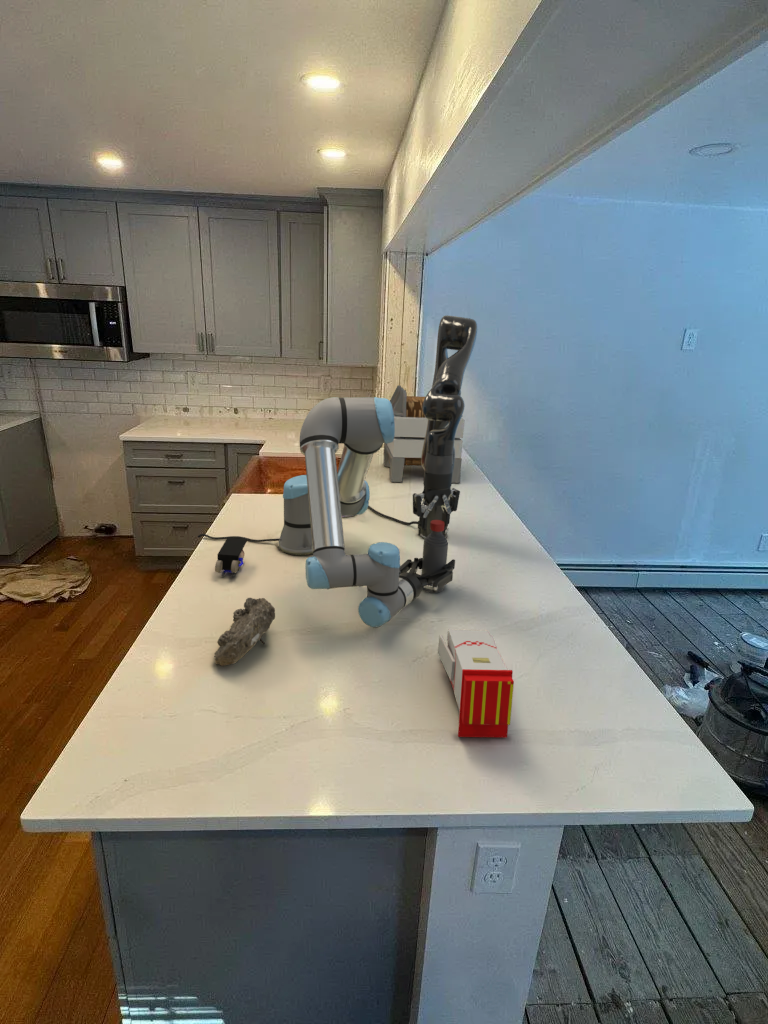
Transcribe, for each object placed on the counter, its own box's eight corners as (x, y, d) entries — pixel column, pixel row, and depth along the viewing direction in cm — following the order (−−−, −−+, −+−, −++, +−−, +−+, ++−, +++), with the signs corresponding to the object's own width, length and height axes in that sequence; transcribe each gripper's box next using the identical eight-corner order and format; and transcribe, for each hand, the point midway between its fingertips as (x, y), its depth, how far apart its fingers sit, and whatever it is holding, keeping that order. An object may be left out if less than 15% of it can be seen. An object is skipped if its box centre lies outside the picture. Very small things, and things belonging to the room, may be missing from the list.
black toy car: (238, 584, 162) (249, 557, 175) (236, 562, 158) (247, 536, 172) (215, 584, 161) (227, 556, 175) (212, 561, 158) (225, 535, 171)
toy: (488, 613, 130) (523, 677, 101) (484, 667, 133) (517, 744, 104) (435, 612, 130) (455, 676, 101) (432, 666, 133) (451, 743, 103)
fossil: (230, 601, 141) (273, 572, 136) (255, 627, 144) (299, 600, 139) (195, 660, 122) (245, 629, 117) (226, 689, 125) (276, 660, 120)
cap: (443, 532, 154) (444, 525, 154) (429, 531, 155) (429, 523, 154) (444, 527, 158) (445, 520, 157) (430, 526, 159) (431, 519, 158)
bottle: (426, 579, 167) (430, 518, 160) (447, 585, 164) (453, 523, 157) (416, 589, 161) (421, 525, 154) (438, 595, 158) (444, 530, 152)
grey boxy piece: (382, 463, 289) (386, 382, 275) (445, 464, 293) (451, 384, 279) (390, 482, 257) (394, 392, 243) (460, 483, 261) (468, 394, 247)
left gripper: (369, 592, 152) (411, 563, 170) (435, 614, 142) (472, 581, 161) (370, 567, 149) (412, 540, 168) (437, 588, 140) (474, 557, 158)
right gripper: (452, 463, 157) (447, 519, 163) (408, 468, 151) (404, 526, 156) (468, 470, 151) (463, 528, 157) (423, 475, 144) (418, 536, 150)
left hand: (441, 560), depth 164 cm, fingers closed on bottle, 7 cm apart
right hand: (433, 527), depth 156 cm, fingers open, 6 cm apart
